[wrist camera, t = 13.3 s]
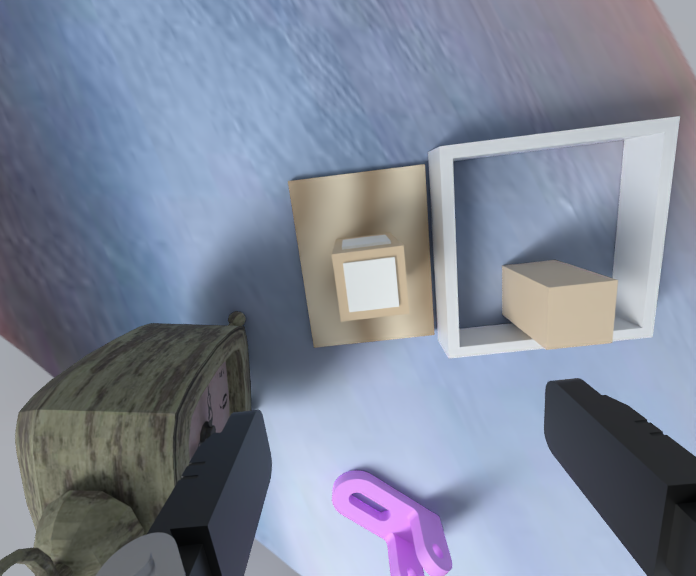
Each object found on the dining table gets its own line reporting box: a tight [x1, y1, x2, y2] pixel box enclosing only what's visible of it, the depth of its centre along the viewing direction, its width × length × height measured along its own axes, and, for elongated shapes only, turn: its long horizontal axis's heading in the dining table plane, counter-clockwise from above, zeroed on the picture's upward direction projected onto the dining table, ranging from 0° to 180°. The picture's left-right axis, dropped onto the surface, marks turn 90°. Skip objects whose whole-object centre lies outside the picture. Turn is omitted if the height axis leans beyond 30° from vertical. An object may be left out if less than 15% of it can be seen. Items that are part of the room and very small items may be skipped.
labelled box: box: [332, 233, 409, 322], centre depth 28 cm, size 5×5×8 cm
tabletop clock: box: [0, 311, 251, 576], centre depth 24 cm, size 14×9×25 cm, turn 178°
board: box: [288, 164, 434, 348], centre depth 33 cm, size 12×16×1 cm
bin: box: [428, 116, 680, 358], centre depth 31 cm, size 18×18×4 cm
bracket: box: [332, 470, 452, 576], centre depth 38 cm, size 13×6×7 cm, turn 53°
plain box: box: [502, 260, 618, 350], centre depth 30 cm, size 5×5×8 cm
